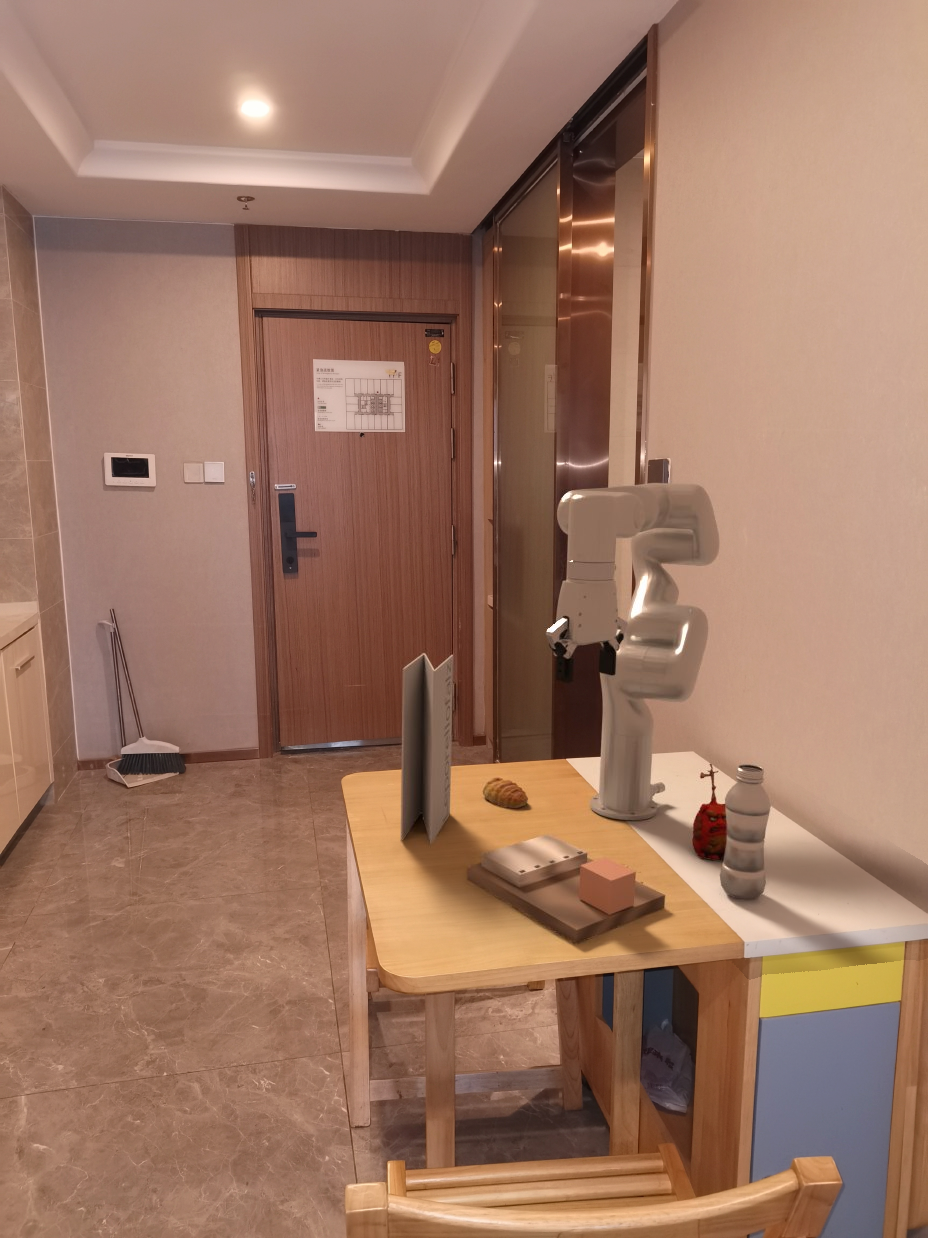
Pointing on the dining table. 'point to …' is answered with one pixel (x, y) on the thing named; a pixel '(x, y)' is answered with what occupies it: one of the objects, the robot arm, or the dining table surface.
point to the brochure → (426, 744)
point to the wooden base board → (554, 887)
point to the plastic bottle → (745, 834)
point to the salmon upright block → (607, 885)
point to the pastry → (505, 793)
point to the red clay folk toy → (710, 827)
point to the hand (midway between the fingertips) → (586, 677)
